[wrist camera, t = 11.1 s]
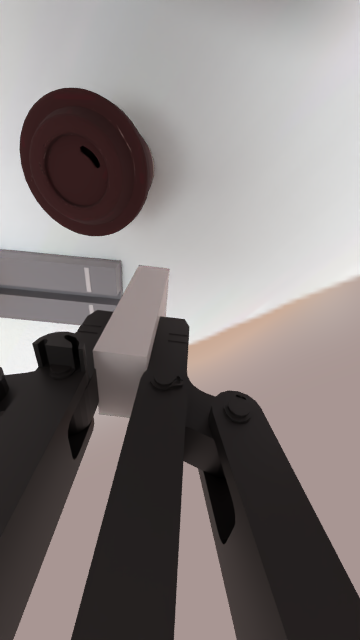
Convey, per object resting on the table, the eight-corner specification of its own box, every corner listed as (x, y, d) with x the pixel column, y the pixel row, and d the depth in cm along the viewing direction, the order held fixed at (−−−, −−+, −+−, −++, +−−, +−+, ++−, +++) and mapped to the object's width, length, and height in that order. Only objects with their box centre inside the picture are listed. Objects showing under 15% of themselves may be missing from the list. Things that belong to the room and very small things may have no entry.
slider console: (-42, 245, 38) (-60, 251, 35) (121, 261, 38) (115, 268, 35) (-20, 304, 43) (-34, 314, 41) (123, 318, 43) (118, 329, 41)
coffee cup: (99, 215, 35) (43, 250, 22) (71, 124, 30) (-24, 101, 17) (172, 203, 33) (156, 231, 21) (156, 105, 28) (121, 63, 16)
